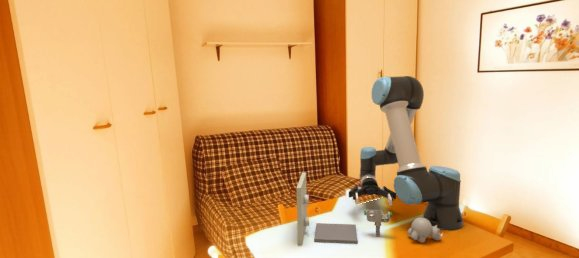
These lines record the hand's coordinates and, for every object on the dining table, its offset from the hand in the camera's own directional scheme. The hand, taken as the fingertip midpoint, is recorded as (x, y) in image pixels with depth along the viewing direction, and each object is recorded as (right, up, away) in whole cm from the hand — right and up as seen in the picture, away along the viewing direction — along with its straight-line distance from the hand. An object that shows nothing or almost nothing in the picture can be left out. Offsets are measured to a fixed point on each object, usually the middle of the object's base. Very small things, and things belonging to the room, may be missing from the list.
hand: (374, 202), depth 140 cm
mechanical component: (-1, -11, -10) cm, 15 cm away
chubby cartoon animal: (+16, -12, -14) cm, 24 cm away
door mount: (-20, -11, -7) cm, 24 cm away
